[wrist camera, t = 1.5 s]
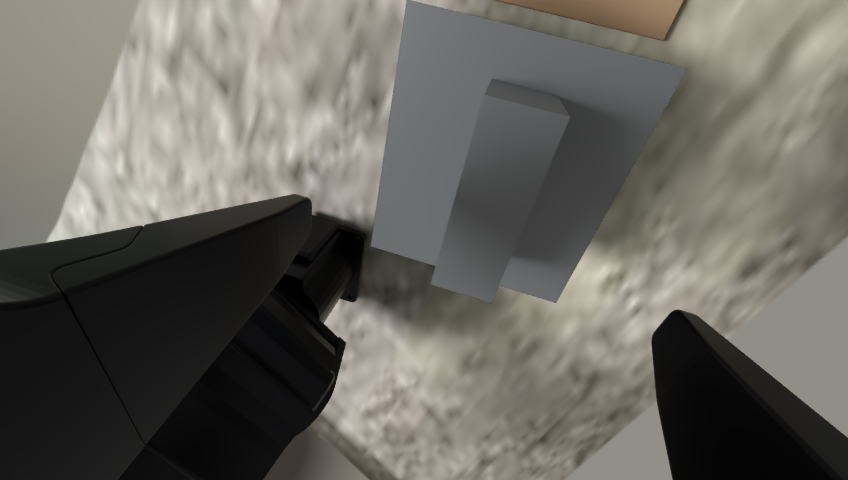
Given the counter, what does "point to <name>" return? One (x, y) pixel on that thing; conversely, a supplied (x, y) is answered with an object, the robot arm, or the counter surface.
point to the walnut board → (613, 13)
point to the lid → (508, 149)
